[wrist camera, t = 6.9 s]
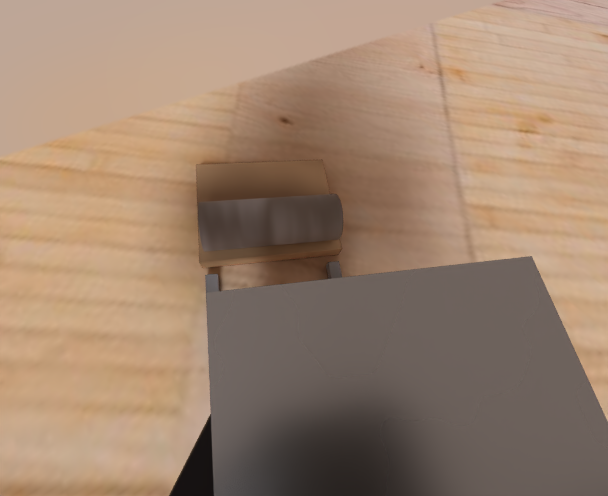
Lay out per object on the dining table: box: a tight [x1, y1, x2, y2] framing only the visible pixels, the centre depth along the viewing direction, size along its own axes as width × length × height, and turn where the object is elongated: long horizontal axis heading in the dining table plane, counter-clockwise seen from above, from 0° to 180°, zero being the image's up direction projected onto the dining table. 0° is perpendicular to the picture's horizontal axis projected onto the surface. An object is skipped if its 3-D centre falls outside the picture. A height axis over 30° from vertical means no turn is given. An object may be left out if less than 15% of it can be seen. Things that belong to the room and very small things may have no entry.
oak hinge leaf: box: [196, 160, 343, 353], centre depth 21 cm, size 15×10×4 cm, turn 9°
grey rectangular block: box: [206, 256, 608, 496], centre depth 9 cm, size 6×5×12 cm
